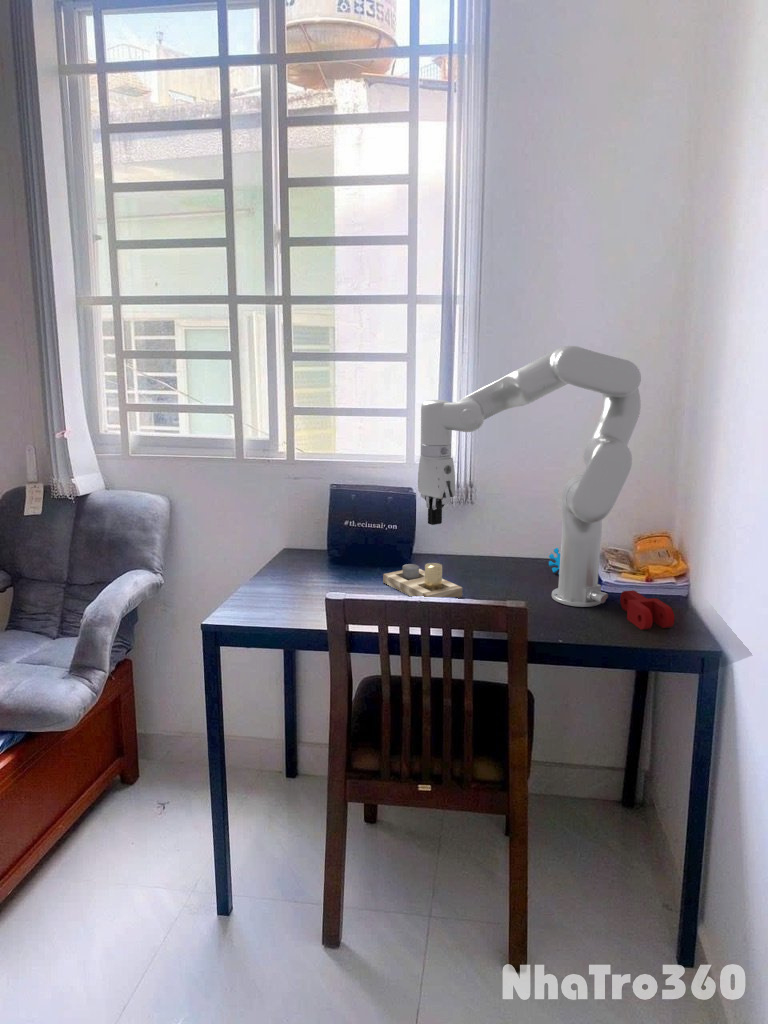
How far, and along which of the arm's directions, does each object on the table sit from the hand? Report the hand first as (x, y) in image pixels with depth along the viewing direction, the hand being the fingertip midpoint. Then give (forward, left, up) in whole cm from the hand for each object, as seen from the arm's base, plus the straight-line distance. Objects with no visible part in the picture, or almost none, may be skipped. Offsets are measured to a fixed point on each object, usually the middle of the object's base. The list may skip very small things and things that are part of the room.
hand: (434, 523), depth 184 cm
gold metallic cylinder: (0, 0, -19) cm, 19 cm away
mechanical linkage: (-39, -32, -19) cm, 54 cm away
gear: (-6, -42, -19) cm, 47 cm away
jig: (+5, 0, -19) cm, 20 cm away
